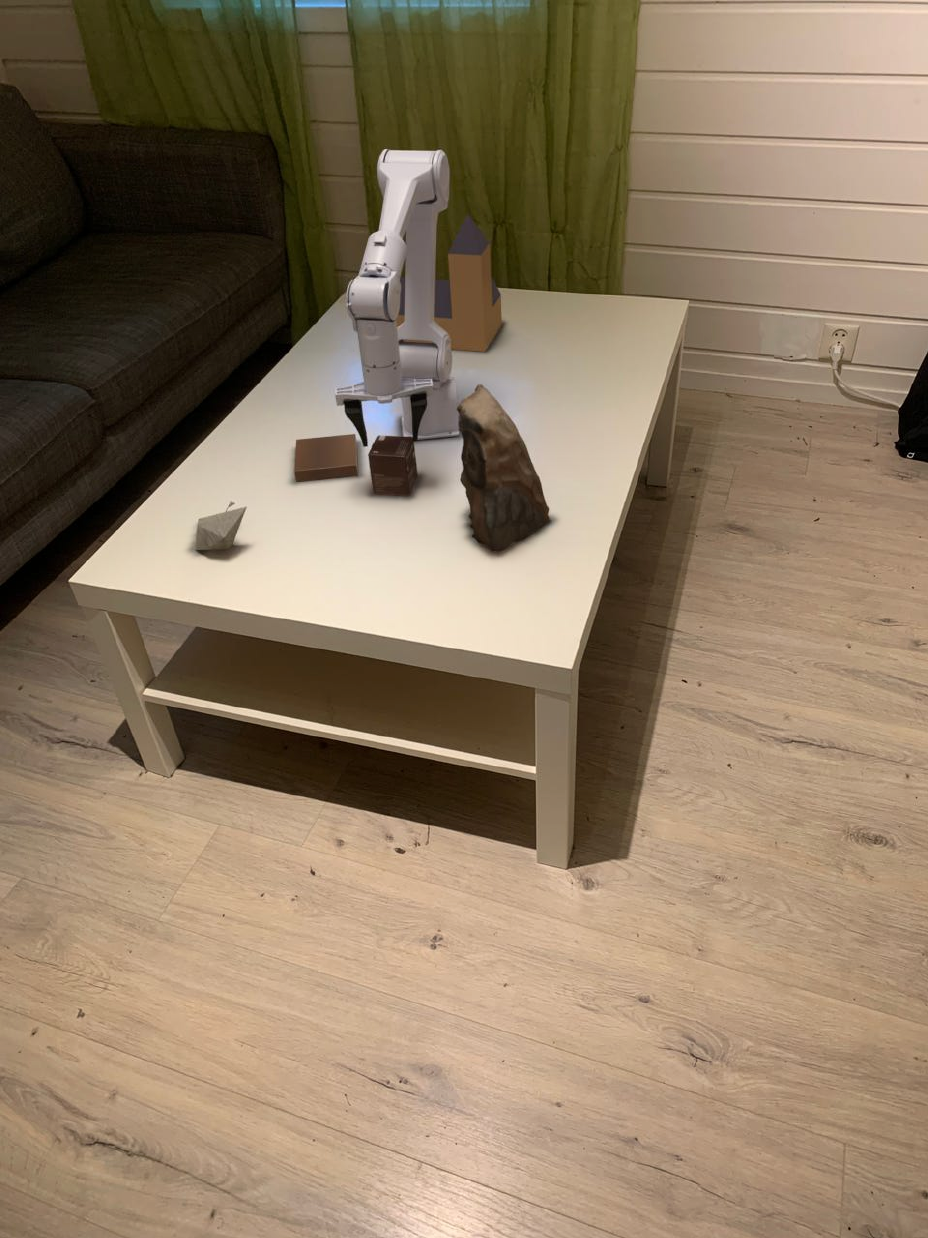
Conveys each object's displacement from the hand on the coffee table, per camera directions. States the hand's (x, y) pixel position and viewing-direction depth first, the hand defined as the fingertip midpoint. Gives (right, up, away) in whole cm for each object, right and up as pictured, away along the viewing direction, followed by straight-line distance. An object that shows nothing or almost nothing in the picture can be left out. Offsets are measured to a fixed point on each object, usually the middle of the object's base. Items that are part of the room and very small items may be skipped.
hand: (390, 440), depth 155 cm
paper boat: (-24, -16, -4) cm, 29 cm away
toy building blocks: (+8, +29, +46) cm, 55 cm away
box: (+1, -6, +5) cm, 8 cm away
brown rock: (+18, -14, -5) cm, 23 cm away
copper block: (-11, -1, +12) cm, 16 cm away
